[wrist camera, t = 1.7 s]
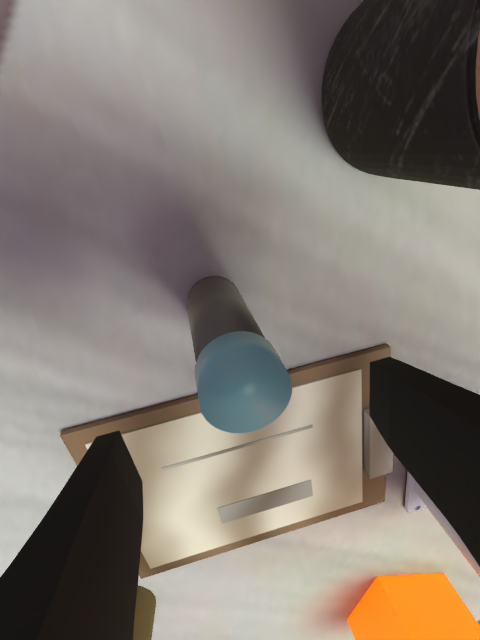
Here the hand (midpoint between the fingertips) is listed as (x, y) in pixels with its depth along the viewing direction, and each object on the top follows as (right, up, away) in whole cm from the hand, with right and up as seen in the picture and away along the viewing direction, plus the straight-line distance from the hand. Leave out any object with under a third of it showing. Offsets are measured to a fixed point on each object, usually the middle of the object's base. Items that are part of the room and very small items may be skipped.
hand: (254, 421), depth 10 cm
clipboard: (0, -8, +14) cm, 16 cm away
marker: (-2, +4, +8) cm, 9 cm away
